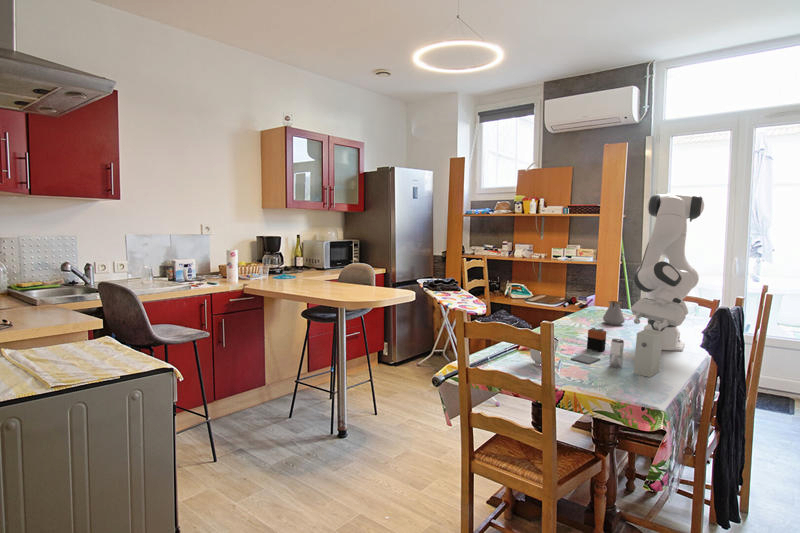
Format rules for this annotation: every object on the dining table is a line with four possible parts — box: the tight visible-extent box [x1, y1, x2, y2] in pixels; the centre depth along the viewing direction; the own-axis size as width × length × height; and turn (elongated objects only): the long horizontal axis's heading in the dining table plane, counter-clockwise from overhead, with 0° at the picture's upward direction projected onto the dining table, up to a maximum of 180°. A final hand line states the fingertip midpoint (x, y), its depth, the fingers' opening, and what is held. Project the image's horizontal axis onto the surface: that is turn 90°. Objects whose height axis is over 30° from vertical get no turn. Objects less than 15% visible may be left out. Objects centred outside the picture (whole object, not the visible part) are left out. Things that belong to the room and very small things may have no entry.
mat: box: [570, 353, 601, 365], centre depth 196 cm, size 10×8×1 cm
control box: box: [633, 329, 663, 378], centre depth 180 cm, size 11×6×16 cm, turn 133°
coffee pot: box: [602, 300, 626, 326], centre depth 262 cm, size 21×12×15 cm, turn 151°
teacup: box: [529, 339, 560, 367], centre depth 188 cm, size 12×15×10 cm
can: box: [609, 338, 625, 369], centre depth 187 cm, size 5×5×11 cm
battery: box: [586, 327, 607, 353], centre depth 211 cm, size 4×7×10 cm, turn 45°
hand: (646, 325), depth 186 cm, fingers open, 8 cm apart
